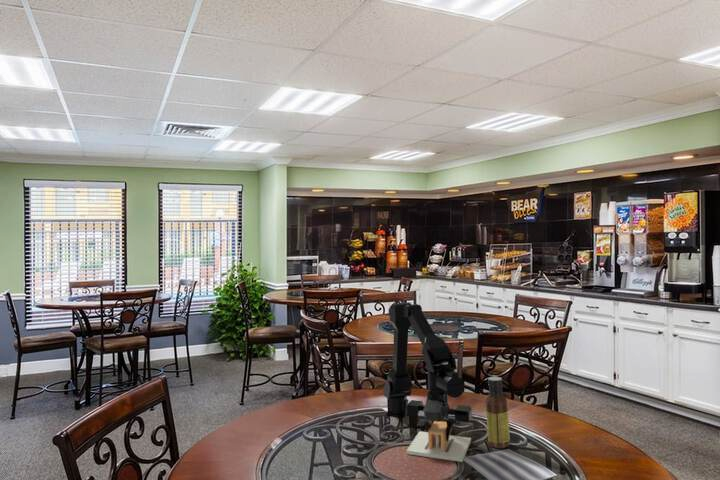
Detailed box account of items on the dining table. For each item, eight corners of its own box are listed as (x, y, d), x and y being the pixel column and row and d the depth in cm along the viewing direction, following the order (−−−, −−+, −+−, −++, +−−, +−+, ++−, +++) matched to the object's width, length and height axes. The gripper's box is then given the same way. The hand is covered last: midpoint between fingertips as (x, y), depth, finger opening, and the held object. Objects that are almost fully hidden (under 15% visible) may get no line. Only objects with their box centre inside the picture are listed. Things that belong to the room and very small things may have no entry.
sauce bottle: (510, 441, 152) (508, 375, 151) (509, 450, 146) (507, 382, 145) (487, 439, 154) (486, 374, 153) (486, 448, 148) (484, 380, 147)
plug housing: (443, 450, 145) (443, 432, 145) (428, 448, 147) (428, 430, 146) (449, 439, 152) (449, 422, 152) (435, 437, 154) (434, 420, 154)
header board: (406, 453, 146) (406, 436, 146) (419, 434, 159) (419, 418, 159) (462, 462, 140) (461, 444, 140) (471, 441, 153) (470, 424, 153)
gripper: (399, 392, 145) (400, 446, 145) (464, 399, 138) (466, 455, 139) (410, 381, 155) (411, 431, 156) (471, 386, 148) (473, 439, 149)
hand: (439, 439), depth 149 cm, fingers closed on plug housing, 4 cm apart
